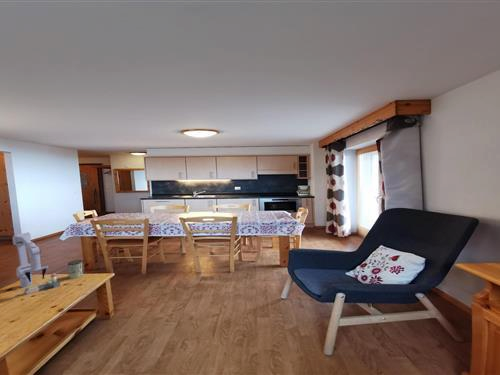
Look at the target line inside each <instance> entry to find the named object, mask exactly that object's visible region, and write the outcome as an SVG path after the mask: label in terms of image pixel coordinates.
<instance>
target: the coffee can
mask: <svg viewBox="0 0 500 375" xmlns="http://www.w3.org/2000/svg"><path fill="white" fill-rule="evenodd" d="M67 271H68V273H67V274H68V279H69V280H74V279H79V278H82V276H84V274H83V261H82V259H76V260H70V261H68V262H67Z"/></svg>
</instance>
